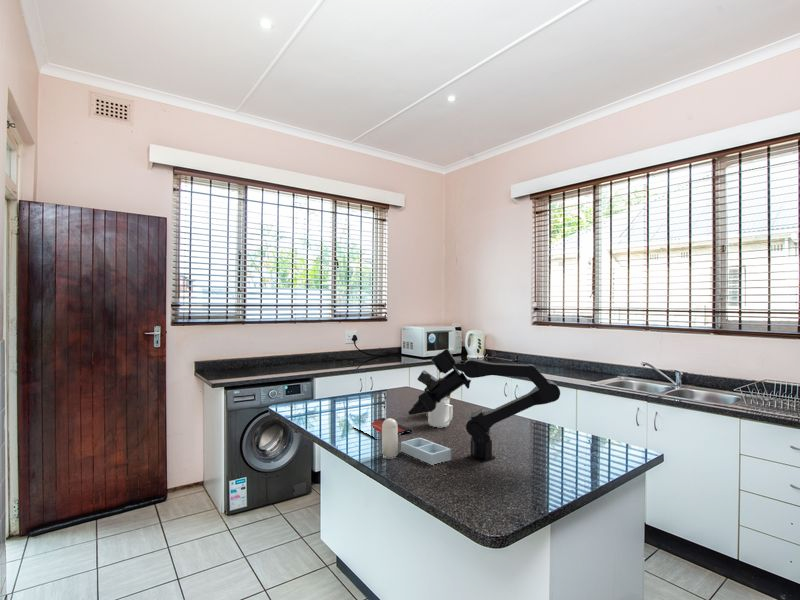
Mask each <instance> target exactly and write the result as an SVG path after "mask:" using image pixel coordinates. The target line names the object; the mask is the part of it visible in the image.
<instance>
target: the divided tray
mask: <svg viewBox="0 0 800 600" xmlns="http://www.w3.org/2000/svg"><path fill="white" fill-rule="evenodd" d="M401 451H403V452H405V453H407V454H409V455H411V456H413V457H415V458H418V459H420V460H422V461H424V462H427V463H429V464H431V465H433V466H435V465H434V464H437V463H440V464H442V463H441V462H443V463H446V462H449V461H452V448H449V447H446V446H444V445H441V444H438V443H435V442H433V441H431V440H427V439H424V438H423V437H416V438H413V439H412V438H411V439H408V440H404V441H401V442H400V452H401ZM415 458H414V459H415ZM422 461H421V462H422ZM445 461H446V462H445ZM424 462H423V463H424ZM429 464H428V465H429ZM431 465H430V466H431ZM437 465H438V464H437Z"/></svg>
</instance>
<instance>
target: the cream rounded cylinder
mask: <svg viewBox="0 0 800 600" xmlns="http://www.w3.org/2000/svg"><path fill="white" fill-rule="evenodd" d="M385 419H386V420H385V421H384V422H383V424H382V439H381V453H382V454H383V455H384V456H388V457H393V456H397V455H398V456H399V450H398V449H399V443H398V442H399V438H398V437H399V436H398V425H397V424H398V422H397V421H396V420H395V419H394V418H391V417H389V418H385ZM382 454H381V455H382Z"/></svg>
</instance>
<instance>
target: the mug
mask: <svg viewBox="0 0 800 600" xmlns="http://www.w3.org/2000/svg"><path fill="white" fill-rule="evenodd" d="M449 407H450V417H449ZM453 409H454V406H453V405H452V404H450V403H449V398H446V397H445V398H444V399H442V400H441V401H440V402H439V403H437V406H436V408H435V409H434V410H433V411H432V412H428V417H427V424H428V425H429V426H430V427H431V426H433V427H432V428H434V427H437V428H436V429H444V428H443V427H445V428H447V427H448V426H449V424H450V422H451V421H452V420H453V416H454V414H453V412H454V411H453Z"/></svg>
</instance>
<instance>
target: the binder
mask: <svg viewBox="0 0 800 600" xmlns="http://www.w3.org/2000/svg"><path fill="white" fill-rule="evenodd" d="M386 419H387V418H385V417H381V418H378V419H374V420H373V421H375V422H373V423H371V425H372V426H373V428H375V430H377V431H379V432H381V433H382V424H383V422H384V421H385V420H386ZM397 425H398V434H399V433H402V432H405V433H407V432H406V431H410V432H412V431H413V430H412V429H411V428H409V427H407V426H404V425H402V424H399V423H397ZM412 433H413V432H412Z"/></svg>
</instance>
